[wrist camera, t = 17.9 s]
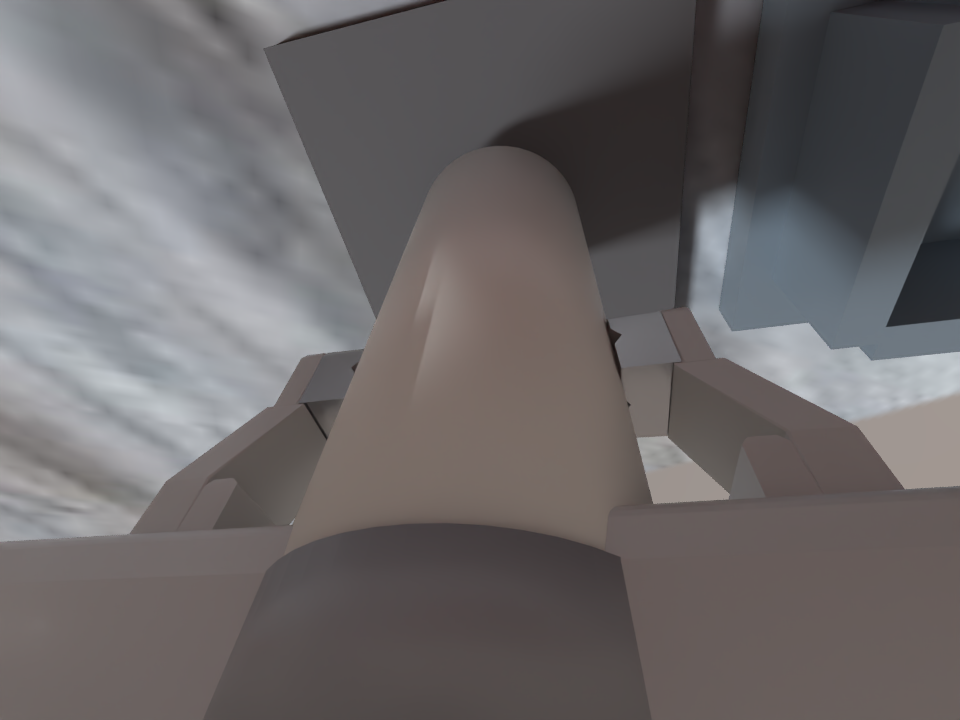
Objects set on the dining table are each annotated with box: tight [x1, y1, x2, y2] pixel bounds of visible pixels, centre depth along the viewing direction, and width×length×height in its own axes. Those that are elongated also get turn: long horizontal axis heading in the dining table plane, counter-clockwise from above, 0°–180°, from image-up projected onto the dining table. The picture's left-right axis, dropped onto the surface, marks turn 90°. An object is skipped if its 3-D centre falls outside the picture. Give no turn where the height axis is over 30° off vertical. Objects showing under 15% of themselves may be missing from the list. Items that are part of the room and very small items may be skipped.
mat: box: [264, 0, 696, 319], centre depth 16 cm, size 12×12×1 cm
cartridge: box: [203, 146, 653, 720], centre depth 10 cm, size 5×5×14 cm
